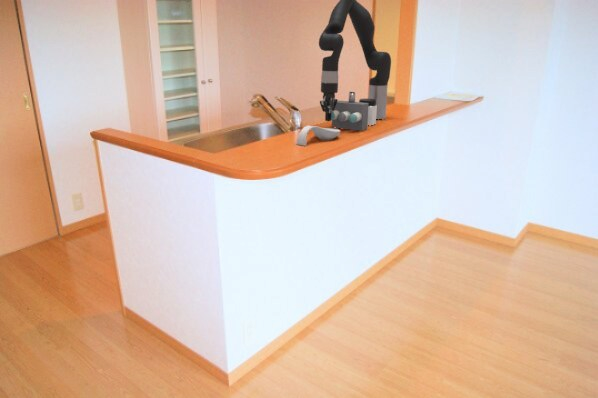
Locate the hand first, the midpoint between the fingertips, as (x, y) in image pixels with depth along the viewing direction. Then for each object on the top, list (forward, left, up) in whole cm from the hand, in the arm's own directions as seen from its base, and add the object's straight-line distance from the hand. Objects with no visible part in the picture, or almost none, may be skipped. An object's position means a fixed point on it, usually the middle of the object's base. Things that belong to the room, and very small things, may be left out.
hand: (327, 120), depth 217 cm
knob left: (-8, 0, 0) cm, 8 cm away
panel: (-11, +5, -5) cm, 13 cm away
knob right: (-8, +11, 0) cm, 14 cm away
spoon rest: (+18, +5, -5) cm, 20 cm away
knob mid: (-8, +5, 0) cm, 10 cm away
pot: (-13, +5, +7) cm, 16 cm away
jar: (-24, +8, -5) cm, 26 cm away
